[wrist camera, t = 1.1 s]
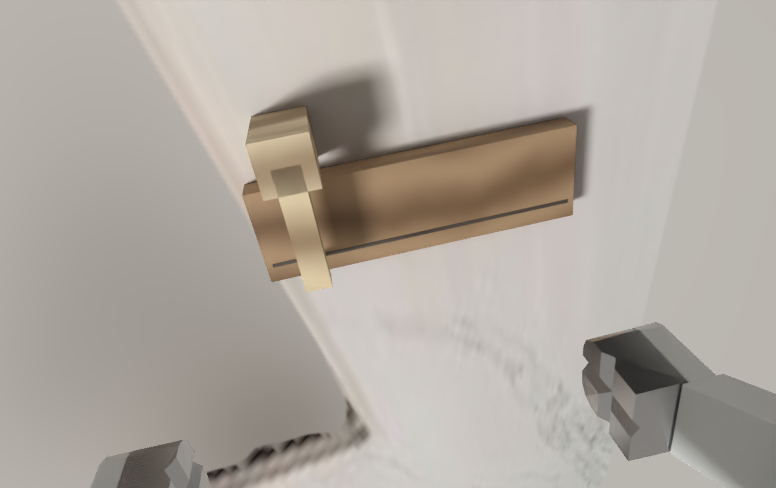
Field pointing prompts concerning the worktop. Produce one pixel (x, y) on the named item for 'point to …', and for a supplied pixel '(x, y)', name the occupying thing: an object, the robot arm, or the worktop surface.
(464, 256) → the worktop surface
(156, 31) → the worktop surface
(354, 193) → the board
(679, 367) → the robot arm
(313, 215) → the beige mallet
